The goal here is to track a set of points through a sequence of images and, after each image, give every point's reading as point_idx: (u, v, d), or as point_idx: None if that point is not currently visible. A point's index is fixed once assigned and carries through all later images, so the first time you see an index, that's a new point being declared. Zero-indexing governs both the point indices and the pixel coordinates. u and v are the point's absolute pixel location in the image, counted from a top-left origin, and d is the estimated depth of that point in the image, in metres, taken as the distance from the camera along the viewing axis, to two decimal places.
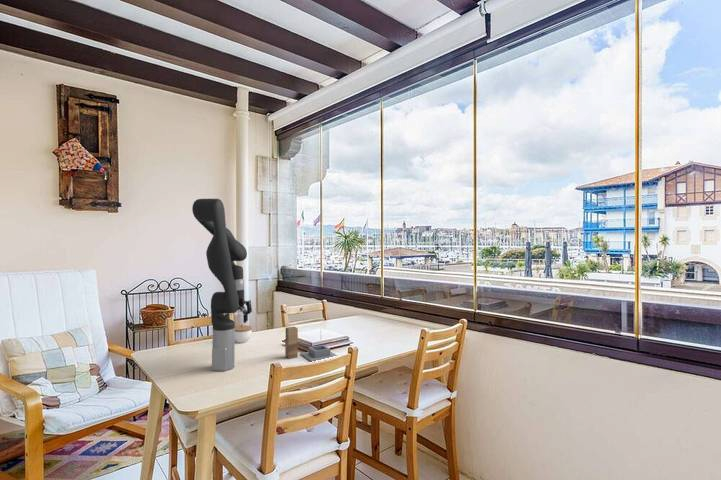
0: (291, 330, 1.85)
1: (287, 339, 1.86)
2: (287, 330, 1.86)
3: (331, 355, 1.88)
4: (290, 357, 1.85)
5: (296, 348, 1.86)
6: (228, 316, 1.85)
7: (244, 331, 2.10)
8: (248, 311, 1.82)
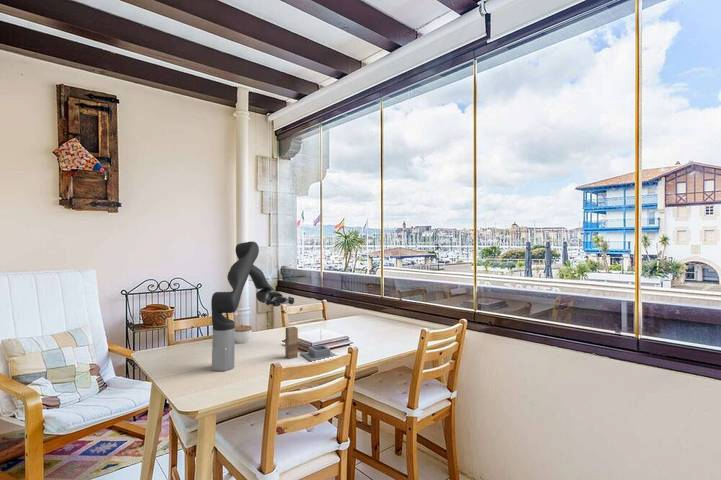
0: (291, 330, 1.85)
1: (287, 339, 1.86)
2: (287, 330, 1.86)
3: (331, 355, 1.88)
4: (290, 357, 1.85)
5: (296, 348, 1.86)
6: None
7: (244, 331, 2.10)
8: (292, 298, 2.05)
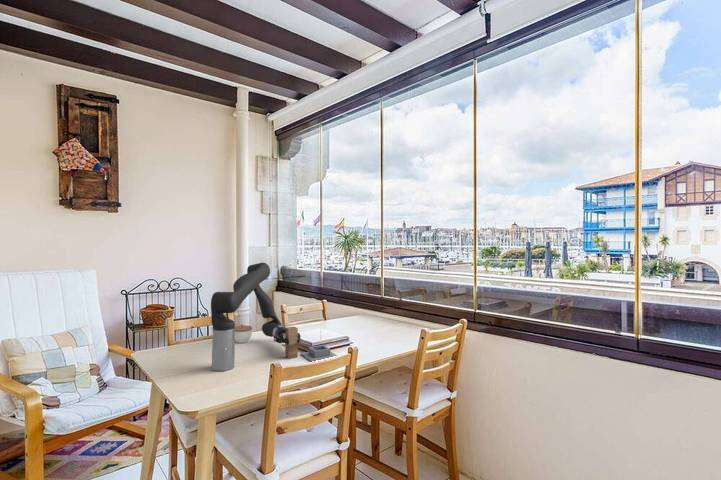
0: (291, 330, 1.85)
1: None
2: (287, 330, 1.86)
3: (331, 355, 1.88)
4: (290, 357, 1.85)
5: (296, 348, 1.86)
6: None
7: (244, 331, 2.10)
8: (298, 335, 1.92)
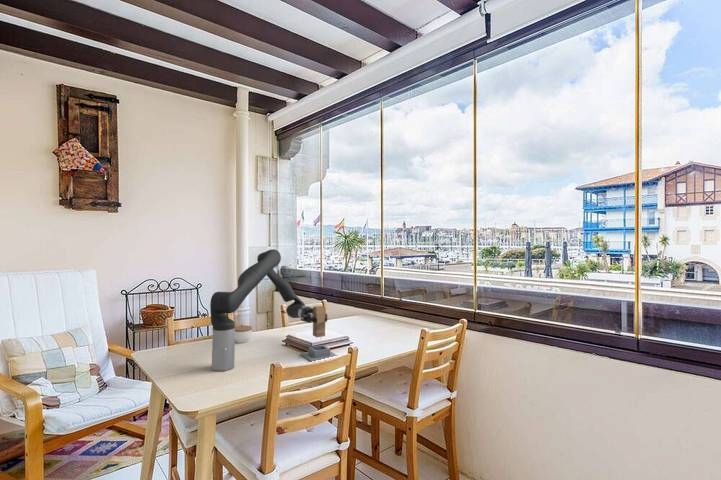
0: (319, 309, 1.87)
1: (315, 317, 1.88)
2: (315, 309, 1.88)
3: (331, 355, 1.88)
4: (318, 335, 1.87)
5: (324, 327, 1.88)
6: None
7: (244, 331, 2.10)
8: (325, 314, 1.94)
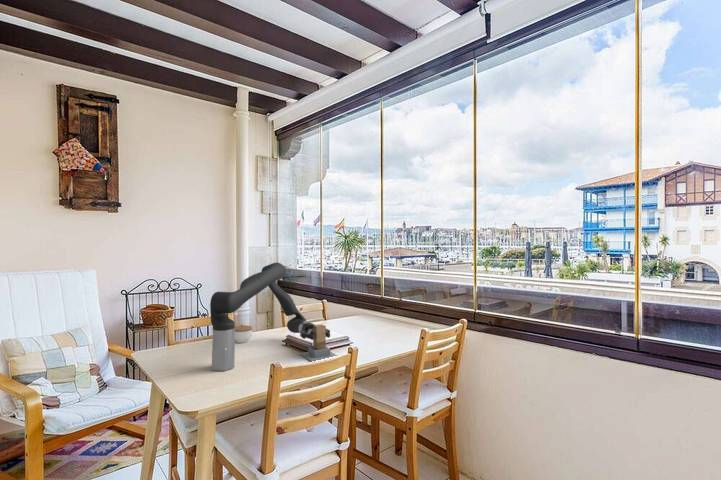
0: (319, 328, 1.86)
1: (315, 336, 1.87)
2: (315, 328, 1.87)
3: (331, 355, 1.88)
4: None
5: (324, 346, 1.88)
6: None
7: (244, 331, 2.10)
8: (328, 330, 1.95)
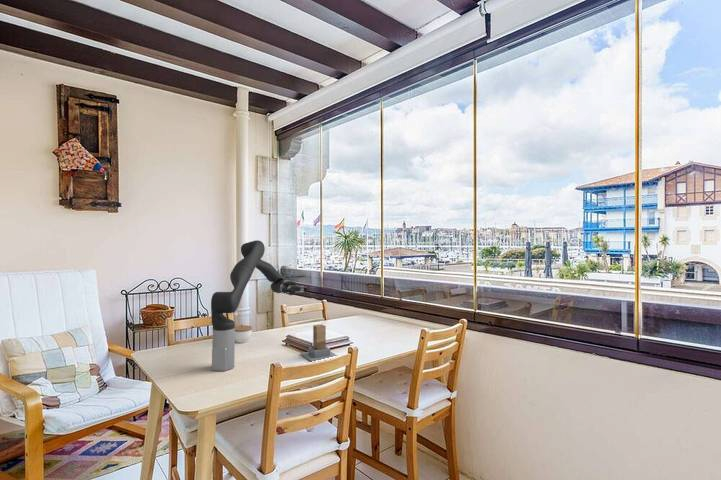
0: (319, 328, 1.86)
1: (315, 336, 1.87)
2: (315, 328, 1.87)
3: (331, 355, 1.88)
4: None
5: (324, 346, 1.88)
6: None
7: (244, 331, 2.10)
8: (307, 286, 2.09)
